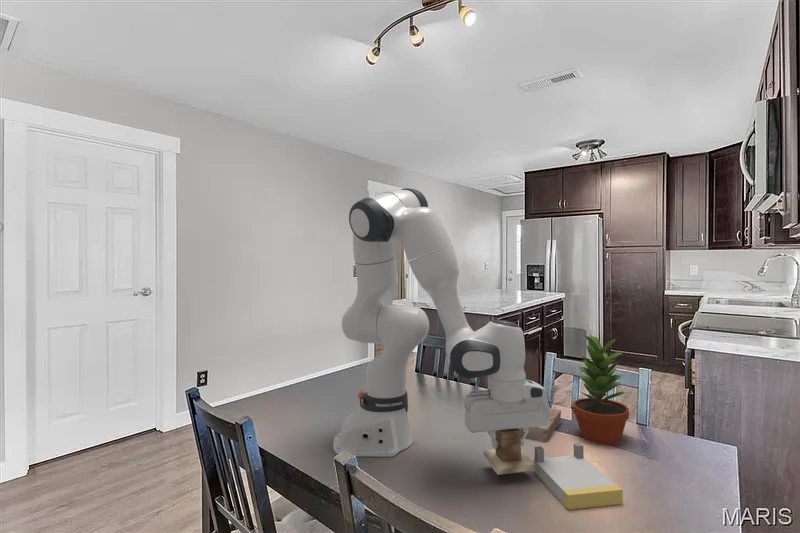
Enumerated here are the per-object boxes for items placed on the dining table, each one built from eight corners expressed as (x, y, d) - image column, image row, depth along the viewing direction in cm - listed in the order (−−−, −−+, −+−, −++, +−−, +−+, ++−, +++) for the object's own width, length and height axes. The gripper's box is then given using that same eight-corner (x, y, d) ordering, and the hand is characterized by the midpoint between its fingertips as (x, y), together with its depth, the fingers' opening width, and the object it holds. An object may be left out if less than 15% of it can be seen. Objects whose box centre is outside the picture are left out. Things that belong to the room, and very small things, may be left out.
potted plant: (644, 443, 116) (642, 333, 116) (598, 452, 112) (596, 338, 111) (603, 423, 130) (602, 325, 130) (561, 430, 126) (559, 329, 126)
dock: (568, 509, 87) (567, 480, 87) (533, 471, 103) (533, 446, 103) (622, 503, 89) (622, 475, 88) (580, 466, 104) (580, 442, 104)
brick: (547, 444, 118) (546, 427, 118) (517, 437, 123) (517, 421, 123) (561, 424, 132) (561, 409, 132) (534, 419, 137) (534, 404, 137)
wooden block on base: (497, 474, 97) (496, 437, 96) (483, 456, 106) (482, 422, 105) (534, 470, 98) (534, 433, 98) (518, 452, 107) (517, 419, 107)
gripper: (468, 396, 97) (470, 456, 97) (553, 389, 100) (554, 447, 100) (460, 387, 103) (461, 444, 103) (540, 381, 106) (541, 436, 106)
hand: (508, 446), depth 102 cm, fingers closed on wooden block on base, 4 cm apart
